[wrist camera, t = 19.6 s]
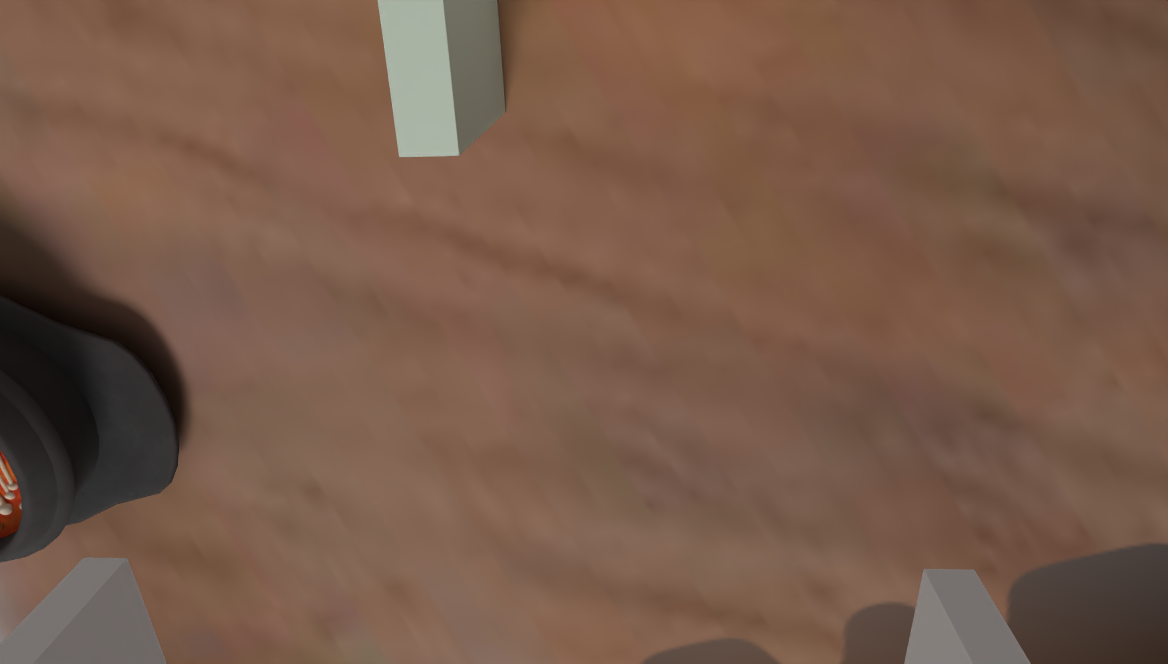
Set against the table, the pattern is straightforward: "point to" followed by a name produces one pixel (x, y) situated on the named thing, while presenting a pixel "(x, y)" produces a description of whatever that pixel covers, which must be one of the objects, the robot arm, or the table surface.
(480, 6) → the green board
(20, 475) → the casserole
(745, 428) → the table surface
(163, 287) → the table surface
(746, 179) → the table surface
